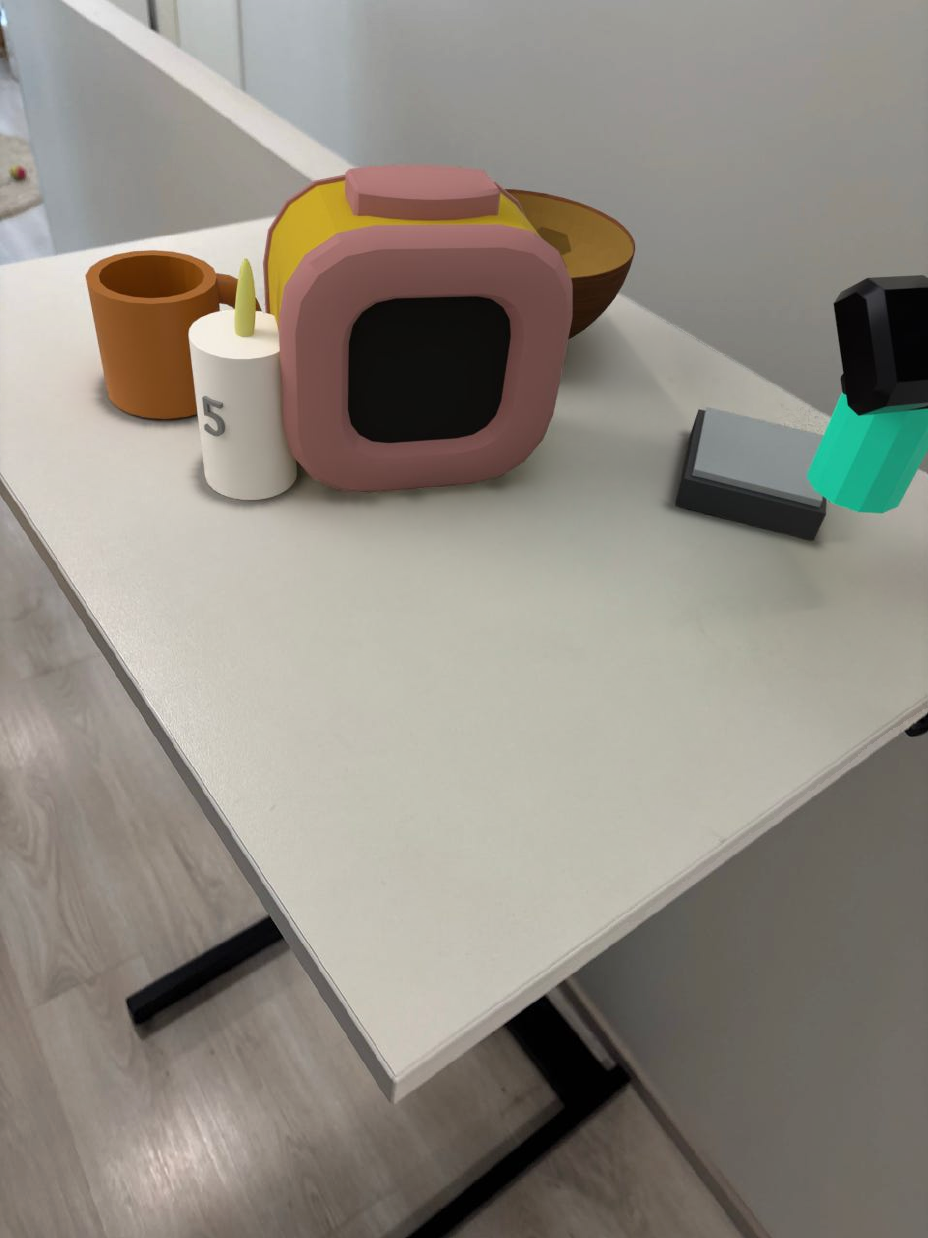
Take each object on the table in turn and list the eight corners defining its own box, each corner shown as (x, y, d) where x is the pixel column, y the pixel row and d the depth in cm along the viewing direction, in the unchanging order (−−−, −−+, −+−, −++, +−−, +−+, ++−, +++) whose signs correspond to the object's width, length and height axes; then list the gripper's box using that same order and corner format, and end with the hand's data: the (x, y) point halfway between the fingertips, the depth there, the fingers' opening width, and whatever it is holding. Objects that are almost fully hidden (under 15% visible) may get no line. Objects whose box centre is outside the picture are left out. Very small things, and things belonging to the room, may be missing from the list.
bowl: (499, 417, 72) (518, 296, 65) (372, 322, 81) (376, 207, 74) (649, 363, 81) (680, 251, 74) (519, 283, 90) (535, 176, 83)
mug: (272, 417, 69) (267, 304, 63) (104, 423, 66) (80, 305, 60) (264, 357, 75) (258, 249, 69) (109, 360, 72) (89, 247, 66)
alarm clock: (288, 509, 61) (277, 216, 48) (268, 419, 69) (253, 143, 55) (546, 487, 66) (601, 214, 53) (501, 405, 74) (540, 147, 60)
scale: (815, 466, 72) (830, 432, 70) (813, 541, 65) (830, 506, 63) (689, 435, 73) (700, 401, 71) (674, 505, 66) (686, 470, 64)
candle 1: (183, 479, 62) (153, 264, 52) (243, 436, 67) (227, 230, 56) (258, 513, 61) (243, 298, 50) (314, 467, 65) (312, 259, 55)
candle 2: (908, 522, 56) (1007, 340, 48) (809, 502, 56) (890, 319, 48) (894, 468, 60) (983, 293, 52) (803, 450, 61) (877, 274, 52)
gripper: (1271, 101, 42) (988, 242, 57) (952, 94, 37) (731, 252, 52) (1302, 341, 42) (1012, 419, 57) (990, 369, 37) (759, 447, 52)
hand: (885, 381), depth 55 cm, fingers closed on candle 2, 6 cm apart
